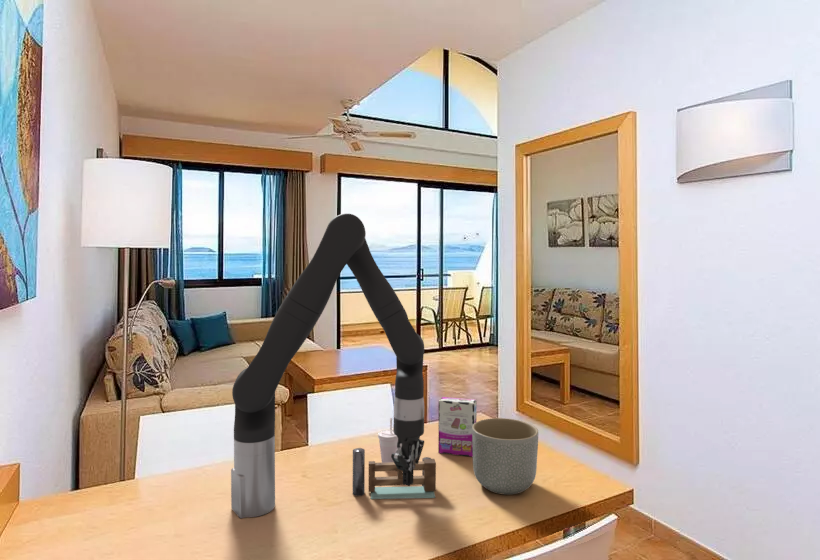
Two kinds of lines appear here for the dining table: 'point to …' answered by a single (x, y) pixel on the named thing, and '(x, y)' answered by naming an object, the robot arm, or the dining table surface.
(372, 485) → the gate
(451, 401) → the candy bar box
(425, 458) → the post
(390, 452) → the smoothie
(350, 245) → the robot arm
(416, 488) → the open mat
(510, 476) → the planter
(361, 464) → the gatepost
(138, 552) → the dining table surface
